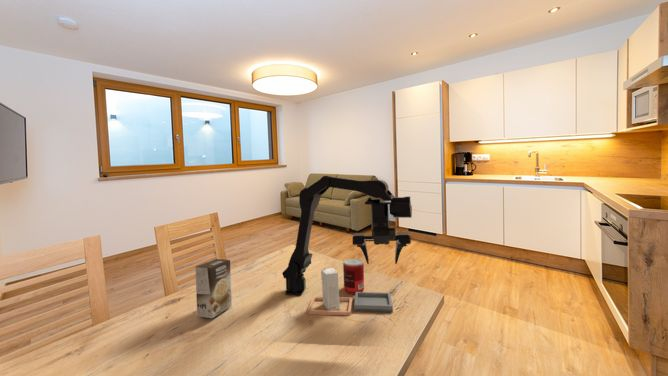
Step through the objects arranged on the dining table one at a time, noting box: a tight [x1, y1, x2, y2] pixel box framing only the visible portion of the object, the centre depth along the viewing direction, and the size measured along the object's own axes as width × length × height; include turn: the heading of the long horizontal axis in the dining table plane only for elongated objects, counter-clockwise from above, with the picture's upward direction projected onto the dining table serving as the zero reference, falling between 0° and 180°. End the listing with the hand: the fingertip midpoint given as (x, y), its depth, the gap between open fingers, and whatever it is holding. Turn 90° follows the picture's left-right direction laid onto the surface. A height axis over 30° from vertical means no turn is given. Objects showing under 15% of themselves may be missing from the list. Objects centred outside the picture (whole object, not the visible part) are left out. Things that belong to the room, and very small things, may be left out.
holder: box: [306, 296, 353, 316], centre depth 91 cm, size 14×11×1 cm
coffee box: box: [195, 258, 233, 319], centre depth 90 cm, size 9×6×16 cm
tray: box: [353, 291, 394, 313], centre depth 91 cm, size 12×10×2 cm
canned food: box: [342, 258, 365, 295], centre depth 104 cm, size 8×8×11 cm
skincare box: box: [320, 267, 341, 311], centre depth 91 cm, size 6×4×12 cm
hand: (381, 263), depth 92 cm, fingers open, 9 cm apart
